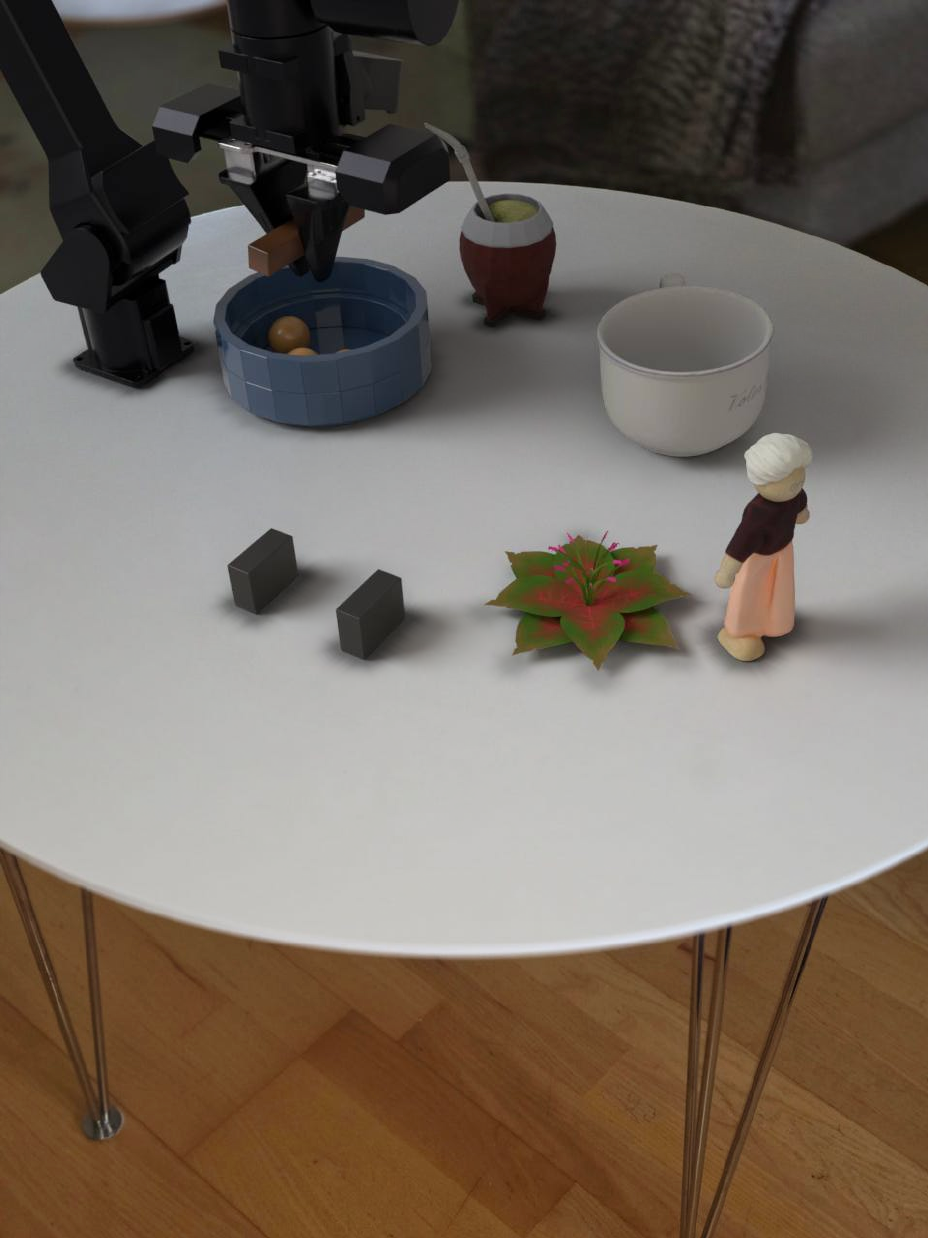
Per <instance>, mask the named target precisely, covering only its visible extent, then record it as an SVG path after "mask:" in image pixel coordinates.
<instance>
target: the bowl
mask: <svg viewBox="0 0 928 1238" xmlns="http://www.w3.org/2000/svg"><path fill="white" fill-rule="evenodd" d="M284 316H293V317H297V318H299V319H301V320H302V321H303V322H304V323H305V324H306V325H307V327H308V329H309V331H310V336H311V340H310V345H309V347H308V348H309V349H311V350H313V351H315V352H316V353H318V354H319V355H305V356H301V355H292V354H282V353H275V352H274V351H273V350H272V348H271V347H270V344H269V340H268V334H269V330H270V327H271V326H272V324H273V323H274V322H275V321H276V320H277V319H279V318H281V317H284ZM429 319H430V318H429V303H428V294H427V290H426V289H425V287H423V285H422V284H421V283H420V281H419V280H418V279H417V277H415V276H414V275H412V274H410V273H409V272H406V271H404V270H403V269H401V268H399V267H398V266H395V265H391V264H388V263H384V262H381V261H378V260H373V259H370V258H362V257H361V258H360V257H351V256H350V257H347V256H336V258H335V261H334V265H333V269H332V273H331V276H330V277H329V278H328V279H327V280H325V281H324V282H322V283H319V282H316V280H315V278H314V276H313V274H312V271H311V269H310V270H309V272H308V273H306V274H305V275H303V276H302V277H299V276H296V275H295V274H294V273H293V271H292V270H291V268H290V267H289V265H287V266H285V267H284V268H282V269H280V270H279V271H277V272H276V273H274V274H272V275H271V276H266V275H264V274H261V273H259V272H257V271H256V272H255V273H252V274H250V275H247V276H246V277H244V278H243V279H241V280H239V282H236V284H234V285H232V286H231V287H229V288H228V289H227V290H226V291H225V292H224V293H223V295H222V297H220V299H219V300H218V302H217V303H216V304H215V308H214V315H213V320H212V322H213V323H212V324H213V329H214V333H215V340H216V344H217V351H218V356H219V361H220V362H219V363H220V367H221V368H220V369H221V373H222V378H223V383H224V385H225V387H226V390H227V391H228V394H229V396H230V397H231V400H232V401H234V402H235V403H237V404H238V405H239V406H240V407H242V408H244V410H246V411H247V412H249V413H251V414H253V415H256V416H259V417H262V418H264V419H267V420H270V421H273V422H276V423H279V424H285V425H289V426H295V427H296V426H297V427H307V428H308V427H309V428H310V427H312V428H313V427H314V428H320V427H321V428H323V427H335V426H344V425H350V424H355V423H359V422H362V421H366V420H370V419H372V418H374V417H379V416H380V415H382V414H385V413H387V412H390V411H391V410H393V409H394V408H397V407H398V406H399V405H401V404H403V403H405V402H406V401H407V400H408V399H409V398H411V397H413V395H414V394H416V393H417V392H418V391H419V390H421V389H422V388H423V387H424V385H425V383H426V381H427V379H428V377H429V375H430V373H431V372H432V367H433V365H432V353H431V337H430V320H429ZM344 349H352V350H348V351H344V352H339V353H336V352H338V351H340V350H344Z"/></svg>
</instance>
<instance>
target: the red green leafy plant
mask: <svg viewBox="0 0 928 1238" xmlns="http://www.w3.org/2000/svg"><path fill="white" fill-rule="evenodd" d="M608 533H609V530H606V531H605V534H604V535H603V536H602V539H601V542H600V543H599V542H596V541H593V540H591V539H587V536H585V537H583V536H581V535H580V534H578V535H576V537H575V538H574V537H573V536H572V535H571V534H570V533H569V532H566V535H567V538H568V539H569V543H565V544H563V545H561V544H557V547H554V546H550V545H549V546H548V548H547V549H548V550H551V551H553V552H555V554H554V553H551V552H548V551H543V550H542V551H541V550H539V551H537V550H534V551H533V550H532V551H531V550H530V551H520V552H517V553H515V552H514V551H507V550H504V553H505V554H506V556H507V559H508V563H510V568H511V570H512V572H513V575H514V576H515V578H516V579H514V580H513V581H511V582H510V583H509V584H508V585H507V586H505V588H503V589H502V590H501V591H500V592H498V594H497V596H496V598H495V599H490V600H489V601H488V602H486V603H484V604H483V606H493V607H498V608H499V607H500V608H507V609H513V610H519V611H521V612H525V613H524V614H523V615H522V616H521V618H520V619H519V621H518V622H517V627H516V632H515V640H514V642H515V644H516V647H515V648H514V650H513V652H512V653H511V654H512V655H511V656H516V655H519V654H523V653H524V654H525V653H528V652H533V651H535V650H542V649H546V648H551V647H556V646H561V645H565V644H569V643H571V642H573V644H575V646H576V647H577V648H578V649H579V650H580V651H581V652H582V653H583V655H584V656H585V657H586V658H588V659H589V660H591V661H592V665H594V667H595V669H596V670H597V672H599V671H600V669H601V667H602V664H604V662H605V660H606V659H607V657H608V656H609V652H610V651H611V650H613V649H614V647H615V646H616V644H617V642H618V641H623V642H628V643H629V642H630V643H638V644H643V645H644V644H645V645H651V646H658V647H659V646H667V647H668V648H673V649H677V650H680V648H679V646H678V645H677V643H676V641H675V639H674V636H673V634H672V633H671V632H670V630H671V627H670V625H669V623H668V620H667V619H666V617H665V616H664V615H663V613H662V612H660V610H658V609H657V608H656V607H655V606H657V605H659V604H661V603H663V602H668V601H673V600H677V599H680V597H690V596H692V594H691V593H690V592H688V591H684V589H682V588H681V587H679V586H678V585H676V584H675V583H671V582H670V580H669V579H668V578H666V576H663V575H662V574H661V573H659V572H657V571H655V569H656V565H657V554H656V553H655V552H656V551H657V548H658V544H654V545H646V546H645V545H644V546H639V547H637V548H636V547H634V546H628V547H620V548H617V547H618V545H620V542H617V543H616V542H615V541H614V542H612V544H610V546H609V547H608V548H606V546H604V545H603V542H604V541H605V539H606V538H607V536H608Z"/></svg>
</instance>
